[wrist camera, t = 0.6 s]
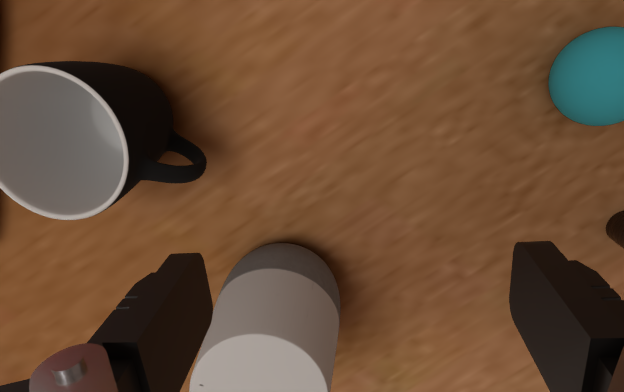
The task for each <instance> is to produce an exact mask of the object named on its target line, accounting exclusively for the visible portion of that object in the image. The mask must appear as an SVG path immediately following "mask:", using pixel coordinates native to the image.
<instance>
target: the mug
mask: <svg viewBox="0 0 624 392" xmlns="http://www.w3.org/2000/svg"><path fill="white" fill-rule="evenodd" d="M167 151H173V152H177V153H179V154H182V155H183V156H185V157H186V158H188V159H189V160H190V161H191V162H192V163H193V165H188V166H174V165H167V164H162V163H159V162H157V161H158V160H159V159H160V157H161V156H162V155H163V154H164V153H165V152H167ZM206 163H207V162H206V157H205V155H204V153H203V152H202V151H201V149H199V148H198V147H197V146H196V145H194V144H193V143H191V142H190V141H188V140H186V139H185V138H183V137H182V136H180V135H179V134H177V133H176V132H175V131H174V129H173V115H172V110H171V107H170V104H169V102H168V99H167V98H166V96H165V94H164V93H163V91H162V90H161V89H160V88H159V86H158V85H157V84H156V83H155V82H154V81H152V80H151V79H150V78H148V77H147V76H146V75H144V74H142V73H140V72H138V71H136V70H133V69H130V68H127V67H124V66H120V65H115V64H108V63H100V62H81V61H60V62H44V63H33V64H28V65H22V66H18V67H15V68H11V69H9V70H7V71H5V72H3V73H1V74H0V188H1V189H2V190H3V191H4V192H5V193H6V194H7V195H8V196H9V197H11V198H12V199H13V200H14V201H16V202H17V203H19V204H20V205H22V206H23V207H25V208H27V209H29V210H31V211H33V212H35V213H37V214H40V215H43V216H46V217H50V218H54V219H60V220H77V219H84V218H88V217H91V216H94V215H96V214H98V213H100V212H102V211H104V210H106V209H107V208H109V207H110V206H112V205H113V204H114V203H116V202H117V201H118V200H119V199H121V198H122V197H123V196H124V195H125V194H127V193H128V192H129V191H130V190H131V189H132V188H133V187H134V186H135V185H136V184H137V183H138V182H139V181H140V180H151V181H158V182H165V183H187V182H191V181H194V180H196V179H198V178H199V177H200V176H202V174H203V173H204V171H205V169H206Z"/></svg>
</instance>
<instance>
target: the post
mask: <svg viewBox="0 0 624 392" xmlns="http://www.w3.org/2000/svg"><path fill="white" fill-rule="evenodd" d="M606 232H607V235H608V236H609V237H610V238H611V239H612V240H614V241H615V242H616V243H617V244H619V245H620V246H621V247H622V248H624V211H622V212H619V213H617V214H615V215H614V216H612V217H611V218H610V220H609V221H608V223H607V225H606Z"/></svg>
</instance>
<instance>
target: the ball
mask: <svg viewBox="0 0 624 392" xmlns="http://www.w3.org/2000/svg"><path fill="white" fill-rule="evenodd" d="M548 85H549V92H550V96H551V99H552V101H553V103H554V104H555V106H556V107H557V108H558V110H559V111H560V112H561V113H562V114H563V115H565V116H566V117H568V118H569V119H571V120H573V121H575V122H578V123H581V124H585V125H591V126H605V125H611V124H615V123H619V122H622V121H624V27H604V28H598V29H595V30H592V31H589V32H587V33H584V34H582V35H580V36H579V37H577V38H575V39H574V40H573V41H571V42H570V43H569V44H568V45H567V46H565V47H564V48H563V50H562V51H561V52H560V53H559V54H558V56H557V57H556V59H555V61H554V63H553V65H552V67H551V70H550V74H549V83H548Z"/></svg>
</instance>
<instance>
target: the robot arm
mask: <svg viewBox="0 0 624 392" xmlns="http://www.w3.org/2000/svg"><path fill="white" fill-rule="evenodd" d="M509 303H510V311H511V315H512V318H513V321H514V323H515V325H516V327H517V329H518V331H519V333H520V335H521V337H522V339H523V340H524V342H525V344H526V346H527V348H528V350H529V352H530V354H531V356H532V358H533V360H534V362H535V363H536V365H537V367H538V369H539V371H540V373H541V375H542V377H543V379H544V381H545V383H546V385H547V386H548V388H549V390H550V392H624V300H621V297H620V296H619V295H618V294H617V293H616V292H615V291H614V290H613V289H612V288H610V285H609V284H608V283H607V282H606V281H605V280H604V279H603V278H602V277H601V276H600V275H599V274H598V273H597V272H596V271H594V270H593V269H591V268H589V267H587V266H585V265H584V264H582V263H580V262H578V261H576V260H574V261H568V260H567V259H566V258H565V256H564V255H563V254H562V253H561V252H560V251H559V250H558V248H557V247H556V246H555V245H554V244H553V243H552V242H551V241H537V242H517V243H516V244H515V247H514V251H513V261H512V272H511V283H510V294H509ZM212 315H213V305H212V298H211V294H210V289H209V284H208V279H207V274H206V269H205V264H204V260H203V257H202V255H201V254H200V253H181V254H171V255H169V256H168V258H167V259H166V260H165V262H164V263H163V264H162V265H161V267H160V268H159V269H158V271H157V272H156V273H150V274H149V275H147V276H146V277H145V278H143V279H142V280H140V281H139V282H137V283H136V284H135V285H134V286H133V287H132V288H131V290H130V291H129V292H128V293H127V294H126V296H125V299H122V301H121V302H120V303H119V304H118V305H117V307H116V310H113V312H112V313H111V314H110V315H109V316H108V318H107V319H106V320H105V321H104V323H103V324H102V325H101V326H100V327H99V329H98V330H97V331H96V332H95V334H94V335H93V336H92V337H91V338H90V340H89V341H88V342H87V343H86V344H79V345H75V346H71V347H69V348H66V349H63V350H61V351H59V352H57V353H55V354H54V355H52V356H50V357H49V358H47V359H46V360H45V361H43V362H42V363H41V364H40V365H39V366H38V367H37V368H36V369H35V371H34V372H33V374H32V375H31V378H30V379H27V380H23V381H19V382H14V383H10V384H6V385H2V386H0V392H180V390H181V387H182V385H183V383H184V381H185V379H186V377H187V375H188V372H189V370H190V368H191V366H192V364H193V362H194V359H195V357H196V355H197V353H198V351H199V349H200V347H201V344H202V342H203V340H204V338H205V336H206V334H207V332H208V329H209V327H210V325H211V321H212Z"/></svg>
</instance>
